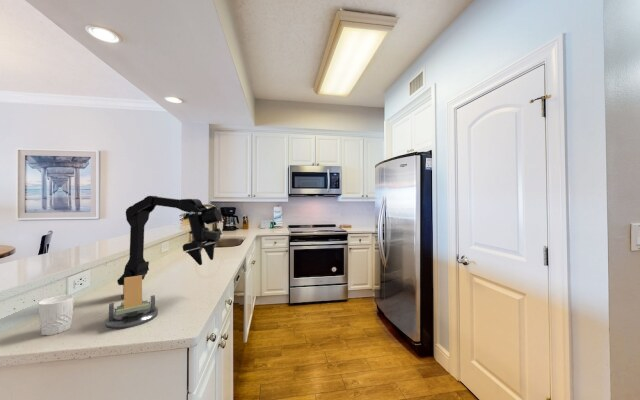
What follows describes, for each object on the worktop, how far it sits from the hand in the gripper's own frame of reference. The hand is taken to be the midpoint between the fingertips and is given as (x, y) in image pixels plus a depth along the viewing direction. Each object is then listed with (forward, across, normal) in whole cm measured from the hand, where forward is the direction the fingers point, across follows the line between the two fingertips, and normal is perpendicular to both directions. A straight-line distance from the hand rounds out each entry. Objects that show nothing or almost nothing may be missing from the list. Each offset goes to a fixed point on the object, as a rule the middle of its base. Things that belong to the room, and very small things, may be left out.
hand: (206, 262), depth 107 cm
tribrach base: (+11, -20, +20) cm, 30 cm away
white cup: (+7, -29, +37) cm, 48 cm away
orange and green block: (+7, -20, +19) cm, 28 cm away
